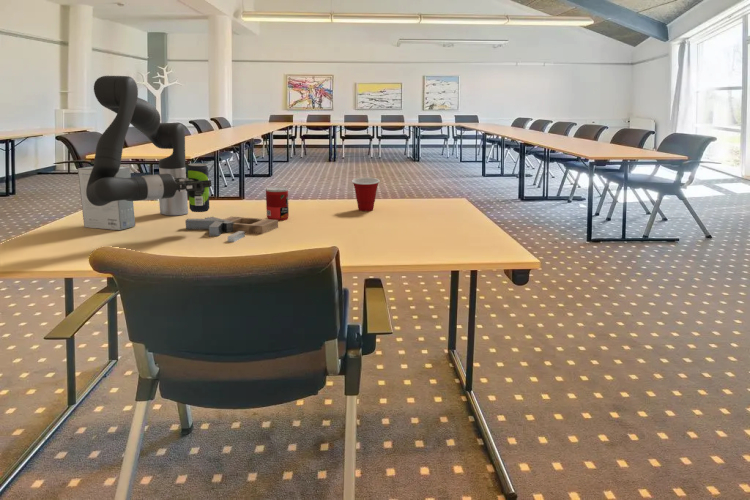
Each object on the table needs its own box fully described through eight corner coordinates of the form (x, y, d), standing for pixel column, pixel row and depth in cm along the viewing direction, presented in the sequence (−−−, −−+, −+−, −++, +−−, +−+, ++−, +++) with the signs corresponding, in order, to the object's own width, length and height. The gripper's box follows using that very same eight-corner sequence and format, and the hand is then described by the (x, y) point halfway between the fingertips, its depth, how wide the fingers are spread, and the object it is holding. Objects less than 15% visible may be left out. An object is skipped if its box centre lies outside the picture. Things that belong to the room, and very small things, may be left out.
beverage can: (213, 210, 205) (211, 164, 202) (200, 213, 200) (198, 165, 196) (198, 208, 208) (196, 162, 204) (185, 211, 202) (183, 164, 199)
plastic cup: (348, 211, 243) (348, 180, 240) (355, 206, 253) (355, 177, 250) (376, 213, 241) (376, 181, 238) (382, 208, 251) (382, 178, 248)
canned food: (284, 221, 224) (283, 190, 222) (263, 220, 226) (262, 189, 223) (291, 217, 231) (291, 187, 229) (271, 216, 233) (270, 186, 230)
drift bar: (239, 237, 200) (238, 230, 200) (244, 237, 200) (244, 231, 200) (227, 242, 193) (227, 236, 192) (233, 243, 192) (233, 236, 192)
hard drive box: (136, 226, 213) (131, 167, 208) (120, 231, 206) (115, 170, 201) (99, 223, 218) (93, 165, 213) (82, 227, 211) (76, 167, 206)
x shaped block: (213, 237, 199) (212, 227, 198) (182, 228, 211) (182, 219, 210) (239, 232, 206) (239, 223, 205) (208, 224, 218) (208, 215, 217)
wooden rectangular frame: (214, 229, 209) (213, 222, 209) (231, 223, 219) (231, 216, 219) (262, 233, 204) (262, 226, 203) (278, 227, 214) (277, 220, 213)
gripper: (167, 176, 186) (216, 172, 198) (144, 172, 196) (192, 168, 208) (169, 201, 188) (217, 196, 200) (145, 196, 197) (193, 191, 209)
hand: (204, 182), depth 204 cm, fingers closed on beverage can, 6 cm apart
